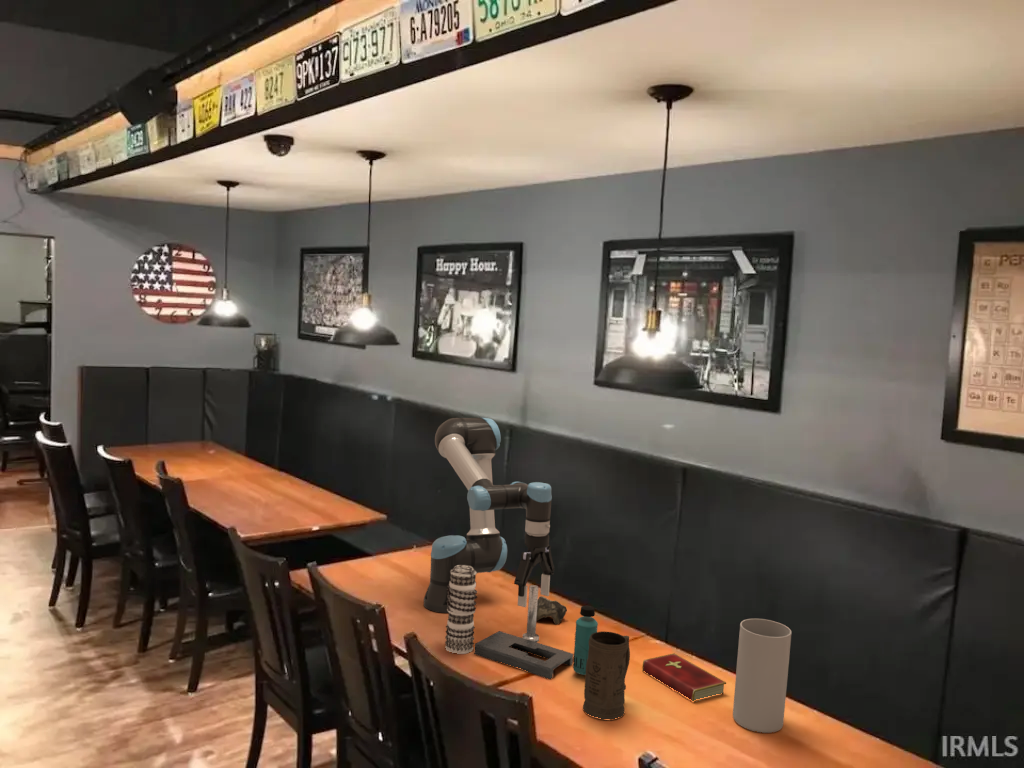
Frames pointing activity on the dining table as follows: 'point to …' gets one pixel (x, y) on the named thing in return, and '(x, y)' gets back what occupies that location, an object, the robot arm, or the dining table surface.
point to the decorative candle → (461, 609)
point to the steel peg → (532, 615)
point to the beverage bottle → (583, 638)
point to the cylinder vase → (761, 675)
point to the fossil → (550, 609)
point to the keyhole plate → (522, 653)
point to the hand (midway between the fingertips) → (533, 600)
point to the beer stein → (606, 675)
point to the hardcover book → (683, 676)
